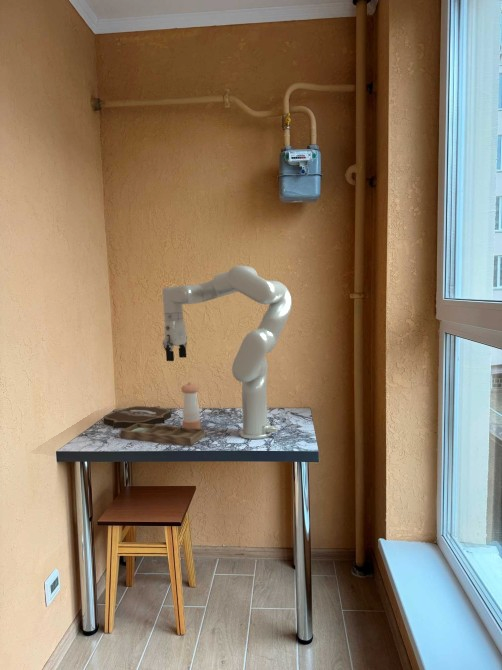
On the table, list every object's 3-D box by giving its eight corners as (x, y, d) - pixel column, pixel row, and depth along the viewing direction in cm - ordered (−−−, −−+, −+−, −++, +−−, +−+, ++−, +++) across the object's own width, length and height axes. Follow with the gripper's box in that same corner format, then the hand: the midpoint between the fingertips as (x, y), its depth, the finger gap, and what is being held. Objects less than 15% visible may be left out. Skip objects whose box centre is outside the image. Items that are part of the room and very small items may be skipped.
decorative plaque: (185, 408, 212) (141, 426, 185) (185, 415, 212) (141, 434, 186) (135, 403, 226) (87, 419, 199) (135, 409, 226) (87, 425, 200)
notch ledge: (205, 436, 178) (204, 429, 178) (190, 446, 168) (190, 438, 168) (137, 430, 190) (137, 422, 189) (120, 438, 180) (120, 430, 179)
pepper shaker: (185, 425, 194) (183, 380, 192) (202, 425, 193) (200, 380, 191) (180, 430, 187) (178, 384, 185) (198, 431, 186) (196, 384, 184)
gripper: (170, 318, 178) (173, 362, 180) (192, 315, 194) (195, 356, 196) (153, 319, 181) (157, 362, 183) (176, 316, 197) (179, 356, 199)
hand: (176, 359), depth 189 cm, fingers open, 9 cm apart
